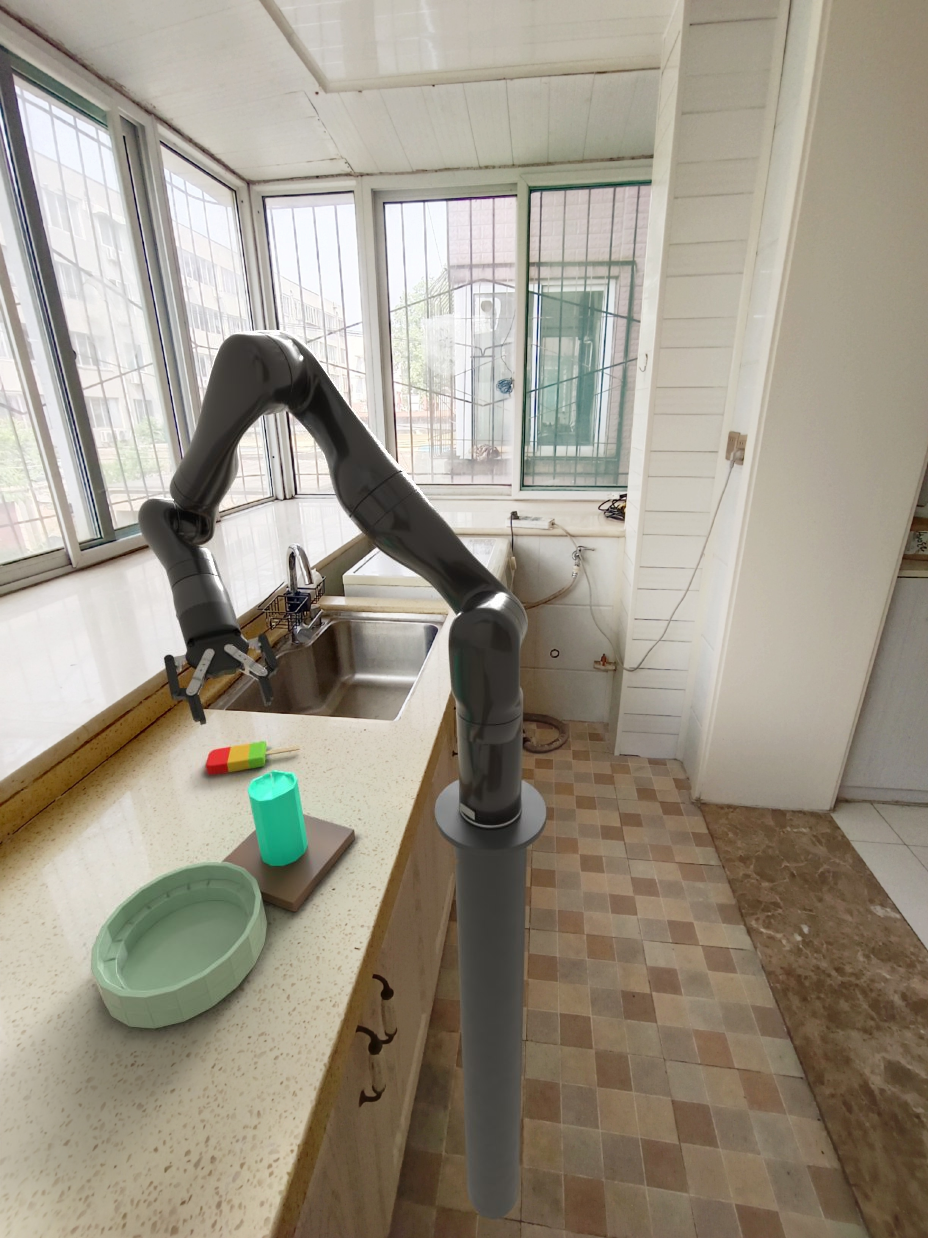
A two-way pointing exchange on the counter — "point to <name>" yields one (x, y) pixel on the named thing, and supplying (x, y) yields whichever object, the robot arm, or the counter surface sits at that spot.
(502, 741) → the robot arm
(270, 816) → the candle
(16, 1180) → the counter surface
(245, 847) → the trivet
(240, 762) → the popsicle
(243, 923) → the bowl
